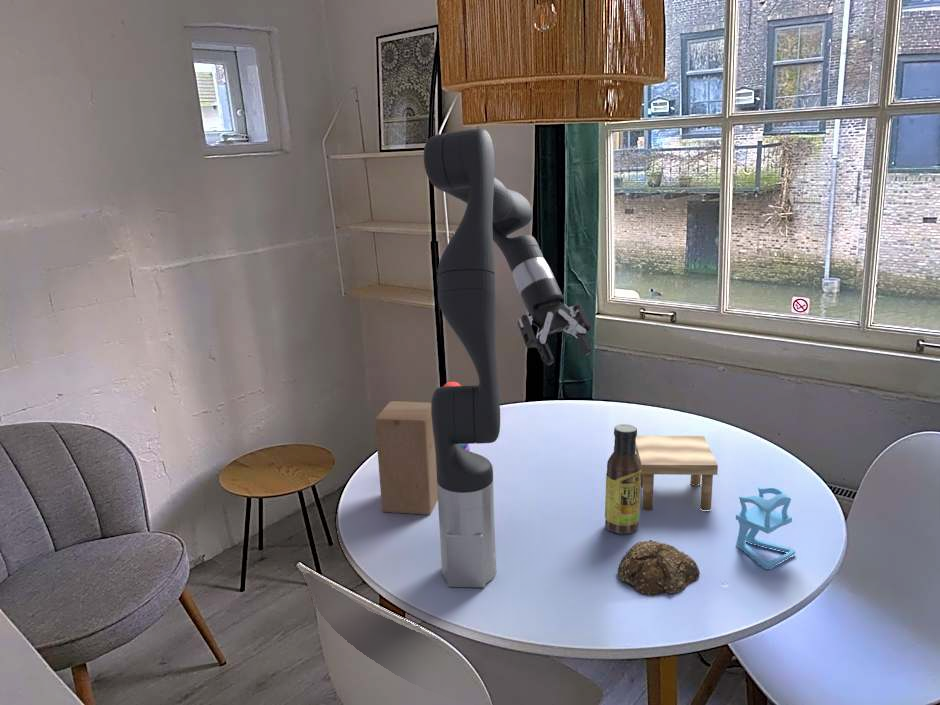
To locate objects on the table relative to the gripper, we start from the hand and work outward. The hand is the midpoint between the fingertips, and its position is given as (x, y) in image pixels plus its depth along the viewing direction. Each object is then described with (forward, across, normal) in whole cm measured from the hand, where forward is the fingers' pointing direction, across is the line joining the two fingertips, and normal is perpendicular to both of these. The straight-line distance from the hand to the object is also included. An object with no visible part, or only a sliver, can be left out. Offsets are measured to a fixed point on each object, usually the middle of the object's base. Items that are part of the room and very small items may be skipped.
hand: (569, 358), depth 149 cm
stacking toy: (+5, -14, +40) cm, 42 cm away
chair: (+45, +14, -8) cm, 48 cm away
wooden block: (+12, -30, +29) cm, 43 cm away
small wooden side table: (+30, +16, +10) cm, 35 cm away
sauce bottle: (+32, 0, +6) cm, 33 cm away
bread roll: (+42, -6, -5) cm, 43 cm away
